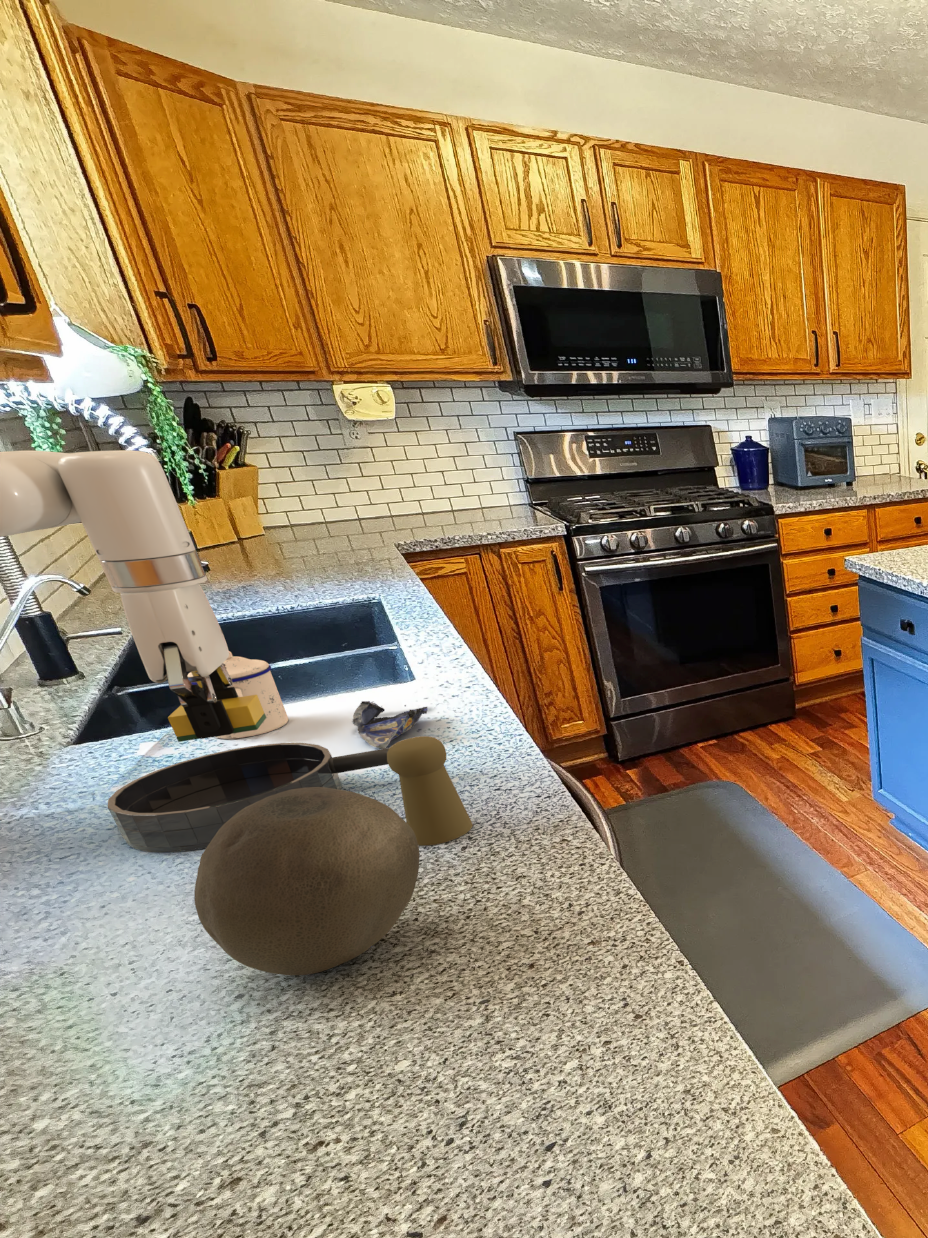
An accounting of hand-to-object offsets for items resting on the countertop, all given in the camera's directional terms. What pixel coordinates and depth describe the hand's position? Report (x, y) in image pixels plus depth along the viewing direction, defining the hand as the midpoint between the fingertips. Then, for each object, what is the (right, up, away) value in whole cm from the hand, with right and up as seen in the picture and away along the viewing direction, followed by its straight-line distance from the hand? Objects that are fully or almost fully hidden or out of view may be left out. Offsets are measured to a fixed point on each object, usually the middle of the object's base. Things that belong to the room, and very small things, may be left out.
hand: (222, 726), depth 94 cm
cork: (+29, -12, -5) cm, 32 cm away
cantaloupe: (+34, -20, -24) cm, 46 cm away
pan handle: (+15, -5, +6) cm, 17 cm away
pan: (+2, -10, 0) cm, 10 cm away
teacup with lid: (-18, 0, +23) cm, 29 cm away
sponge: (0, 0, 0) cm, 0 cm away
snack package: (+4, -1, +21) cm, 22 cm away
